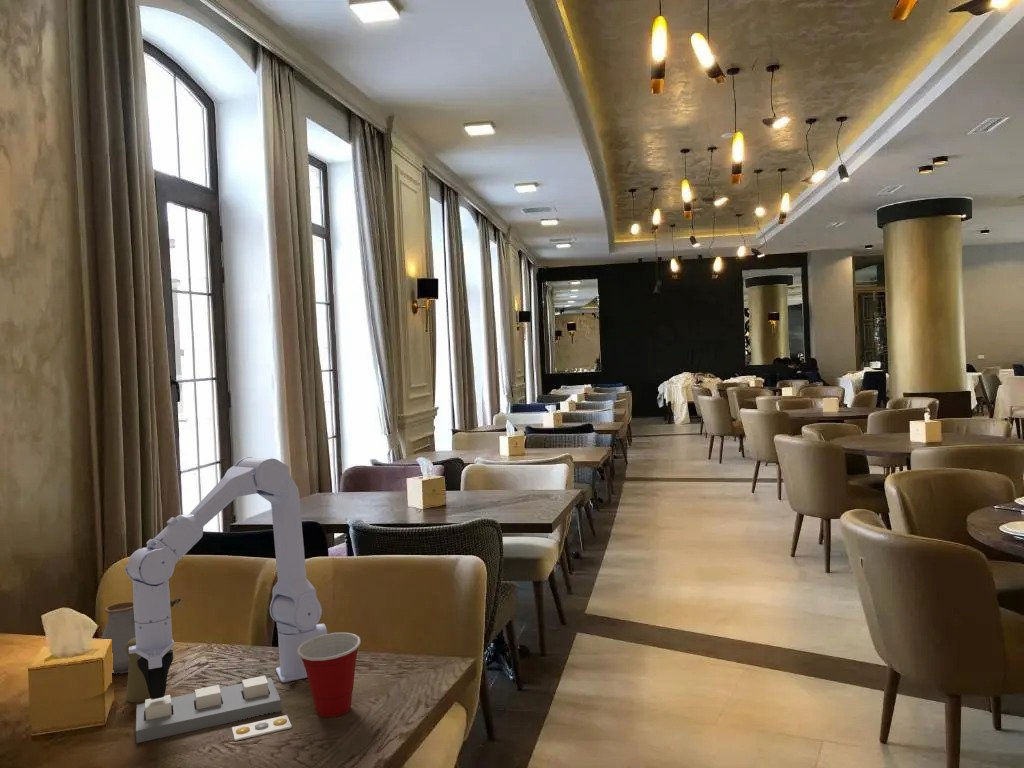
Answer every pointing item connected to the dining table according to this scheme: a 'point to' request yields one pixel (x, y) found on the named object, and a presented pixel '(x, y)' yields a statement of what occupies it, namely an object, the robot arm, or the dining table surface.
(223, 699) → the button board
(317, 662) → the plastic cup
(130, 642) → the olive pepper shaker
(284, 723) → the card
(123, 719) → the dining table surface
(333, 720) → the dining table surface
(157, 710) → the button
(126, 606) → the coffee pot
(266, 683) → the button
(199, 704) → the button middle
